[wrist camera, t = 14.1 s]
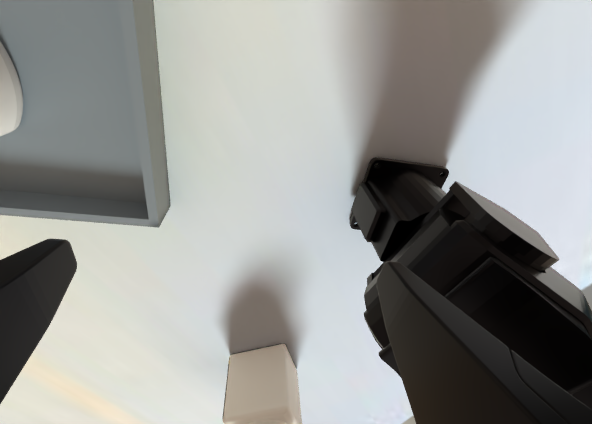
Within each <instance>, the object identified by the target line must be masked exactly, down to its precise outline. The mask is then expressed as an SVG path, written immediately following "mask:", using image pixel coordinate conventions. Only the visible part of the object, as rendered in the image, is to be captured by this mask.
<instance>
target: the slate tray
mask: <svg viewBox="0 0 592 424" xmlns="http://www.w3.org/2000/svg"><path fill="white" fill-rule="evenodd" d="M0 42H1V43H2V45H3V46H4V48H5V50H6V51H7V53H8V55H9V57H10V59H11V61H12V63H13V65H14V67H15V70H16V72H17V75H18V78H19V81H20V84H21V89H22V95H23V112H22V118H21V122H20V124H19V126H18V127H17V128H16V129H15V130H14V131H12V132H10V133H7V134H5V135H2V136H0V215H9V216H21V217H34V218H47V219H59V220H72V221H85V222H97V223H110V224H123V225H135V226H148V227H159V226H160V224H161V223H162V221H163V219H164V217H165V215H166V213H167V211H168V210H169V208H170V195H169V184H168V172H167V160H166V148H165V136H164V125H163V113H162V101H161V89H160V78H159V66H158V54H157V42H156V30H155V19H154V7H153V0H0Z"/></svg>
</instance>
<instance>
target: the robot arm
mask: <svg viewBox="0 0 592 424" xmlns="http://www.w3.org/2000/svg"><path fill="white" fill-rule="evenodd" d="M376 163H379V165H378V166H377V167H374V165H375V164H376ZM441 172H443V173H442V174H441V175H440V173H441ZM448 174H449V171H448V169H446V168H445V167H443V166H436V165H428V164H421V163H414V162H407V161H399V160H392V159H385V158H374V159H372V160H371V161H370V163H369V166H368V169H367V172H366V175H365V178H364V181H363V182H362V183H361V184H360V186H359V188H358V191H357V194H356V197H355V200H354V203H353V206H352V212H353V213H352V216H351V219H350V226H351V228H352V229H357V230H361V231H362V233H363V235H364V237H365V239H366V241H367V242H372V244H373V246H374V248H375V250H376V252H377V254H378V256H379V258H380V260H381V261H383V262H384V263H383V264H382V265H381V266H380V267H379V268H378V269H377V270H376V271H375V272H374V273H371V275H370V276H369V277H368V278H367V287H366V290H365V294H364V298H365V304H366V309H367V310H366V311H365V312H364V317H365V320H366V322H367V325H368V327H369V329H370V331H371V333H372V334H373V336H374V338H375V340H376V342H377V343H378V344H379V346H380V347H381V348H382V350H381V351H380V352H379V356H380V358H381V359H382V360H383V361H384V362H386V363H387V364H388V365H389V366H390V367H391V368H392V369H394V370H395V371H396V372H397V373H398V374H399V376H400V377H401V378H402V381H403V384H404V387H405V390H406V393H407V396H408V399H409V402H410V405H411V408H412V412H413V415H414V418H415V421H416V424H592V311H591V309H590V306H589V305H588V302H587V300H586V298H585V296H584V294H583V293H582V291H581V290H580V289H579V288H577V287H576V286H575V285H574V284H572V283H571V282H570V281H568V280H567V279H566V278H564V277H563V276H562V275H560V274H559V273H558V272H557V271H555V270H554V269H553V268H551V267H550V266H551V265H553V264H554V263H555V262H557V261H558V260H559V258H558V256H557V255H556V254H555V253H554V252H553V250H552V249H551V248H550V247H549V245H548V244H547V243H546V242H545V240H544V239H543V238H542V237H541V235H540V234H539V233H538V232H537V231H535V230H534V229H532V228H531V227H530V226H528V225H527V224H525V223H524V222H523V221H521V220H520V219H518V218H517V217H516V216H514V215H513V214H511V213H510V212H508V211H507V210H505V209H504V208H502V207H500V206H499V205H497V204H495V203H493V202H492V201H490V200H488V199H486V198H485V197H483V196H481V195H479V194H478V193H476V192H474V191H472V190H470V189H469V188H467V187H465V186H463V185H462V184H460V183H458V182H456V181H455V182H454V184H453V185H452V186H451V187H450V188H449V189H450V191H449V192H448V193H447V194H446V193H445V192H444V191H443V190H442V189H441V188H442V186H443V184H444V182H445V180H446V178H447V177H448ZM356 222H357V224H354V223H356ZM76 269H77V262H76V259H75V256H74V253H73V250H72V247H71V244H70V243H69V242H68V241H67V240H62V239H47V240H44V241H42V242H40V243H38V244H35V245H33V246H31V247H29V248H26V249H24V250H22V251H20V252H17V253H15V254H13V255H11V256H8V257H6V258H4V259H2V260H0V404H1V402H2V401H3V399H4V397H5V396H6V394H7V393H8V391H9V389H10V388H11V386H12V385H13V383H14V381H15V380H16V378H17V377H18V375H19V373H20V372H21V370H22V369H23V367H24V365H25V364H26V362H27V361H28V359H29V357H30V356H31V354H32V353H33V351H34V349H35V348H36V346H37V345H38V343H39V341H40V340H41V338H42V337H43V335H44V333H45V332H46V330H47V328H48V327H49V325H50V323H51V321H52V319H53V317H54V315H55V313H56V311H57V309H58V307H59V305H60V303H61V301H62V299H63V297H64V295H65V293H66V291H67V288H68V286H69V284H70V282H71V280H72V278H73V276H74V274H75V272H76Z"/></svg>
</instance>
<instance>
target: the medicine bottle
mask: <svg viewBox="0 0 592 424" xmlns="http://www.w3.org/2000/svg"><path fill="white" fill-rule="evenodd" d="M223 423H224V424H302V419H301V409H300V398H299V387H298V376H297V370H296V368H295V365H294V363H293V361H292V359H291V356H290V354H289V352H288V350H287V347H286V345H285V344H279V345H274V346H270V347H265V348H260V349H255V350H251V351H246V352H241V353H237V354H232V355H230V357H229V365H228V374H227V384H226V393H225V402H224V411H223Z"/></svg>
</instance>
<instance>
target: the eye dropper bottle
mask: <svg viewBox="0 0 592 424" xmlns="http://www.w3.org/2000/svg"><path fill="white" fill-rule="evenodd" d="M22 112H23V95H22V89H21V84H20V81H19V78H18V75H17V72H16V70H15V67H14V65H13V63H12V61H11V59H10V57H9V55H8V53H7V51H6V50H5V48H4V46H3V45H2V43H1V42H0V136H2V135H5V134H7V133H10V132H12V131H14V130H15V129H16V128H17V127H18V126H19V124H20V122H21V118H22Z"/></svg>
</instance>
